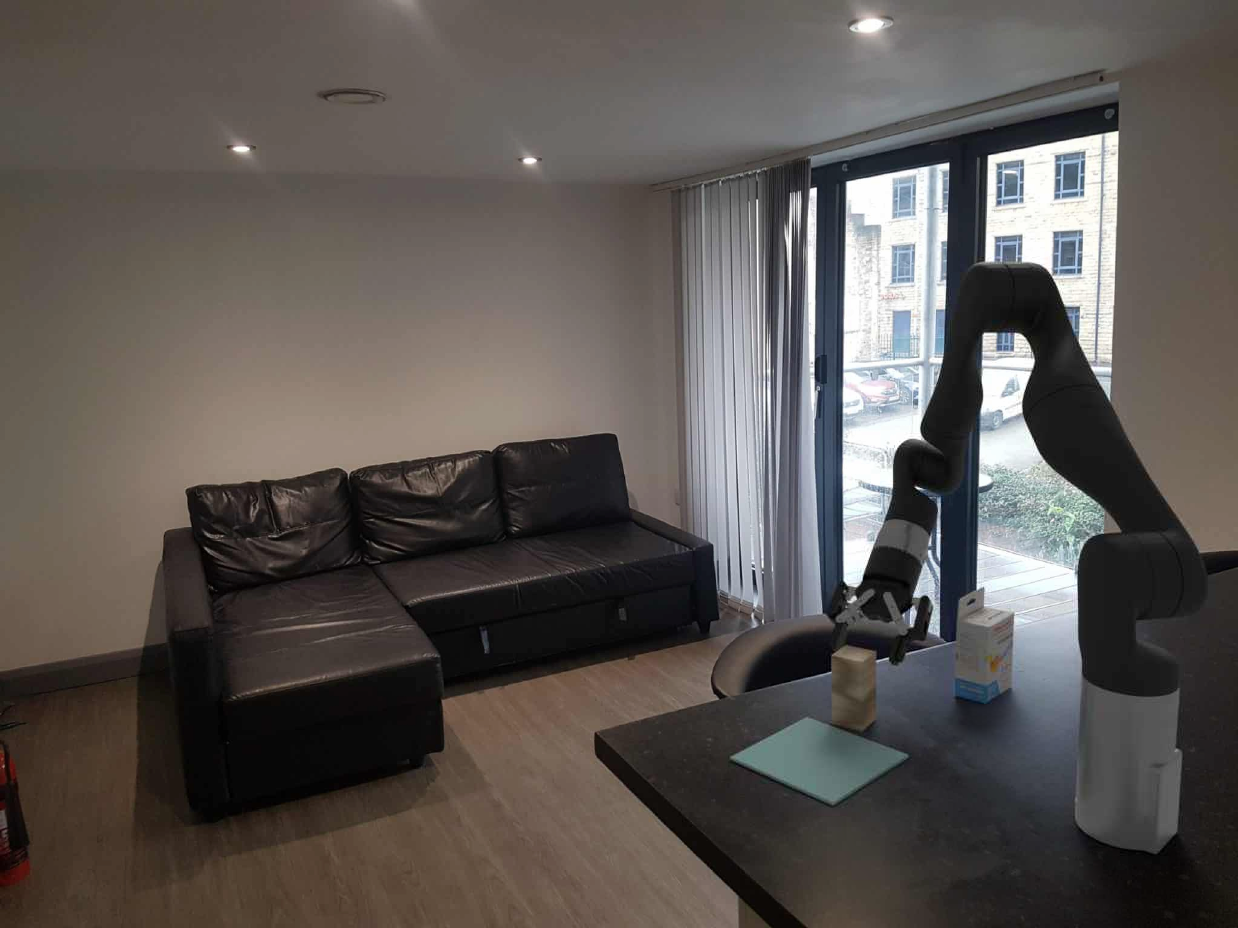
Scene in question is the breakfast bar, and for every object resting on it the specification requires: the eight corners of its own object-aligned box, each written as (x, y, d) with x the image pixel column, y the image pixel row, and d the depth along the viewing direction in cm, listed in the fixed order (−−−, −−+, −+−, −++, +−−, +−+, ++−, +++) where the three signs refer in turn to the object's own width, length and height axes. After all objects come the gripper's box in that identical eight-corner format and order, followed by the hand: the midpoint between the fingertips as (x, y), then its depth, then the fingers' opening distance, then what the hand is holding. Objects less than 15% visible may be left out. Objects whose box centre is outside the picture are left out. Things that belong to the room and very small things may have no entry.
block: (875, 719, 132) (876, 651, 131) (862, 731, 129) (862, 661, 127) (845, 711, 135) (845, 644, 133) (831, 723, 132) (831, 655, 130)
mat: (908, 757, 121) (908, 754, 121) (833, 805, 111) (833, 802, 111) (806, 719, 133) (806, 716, 133) (730, 759, 123) (730, 756, 123)
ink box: (987, 705, 135) (989, 606, 132) (953, 696, 139) (955, 599, 136) (1013, 686, 141) (1016, 591, 138) (980, 678, 144) (983, 585, 142)
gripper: (844, 538, 142) (808, 634, 135) (938, 551, 133) (905, 655, 126) (859, 563, 147) (825, 658, 140) (951, 577, 138) (920, 679, 131)
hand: (863, 656), depth 133 cm, fingers open, 8 cm apart
